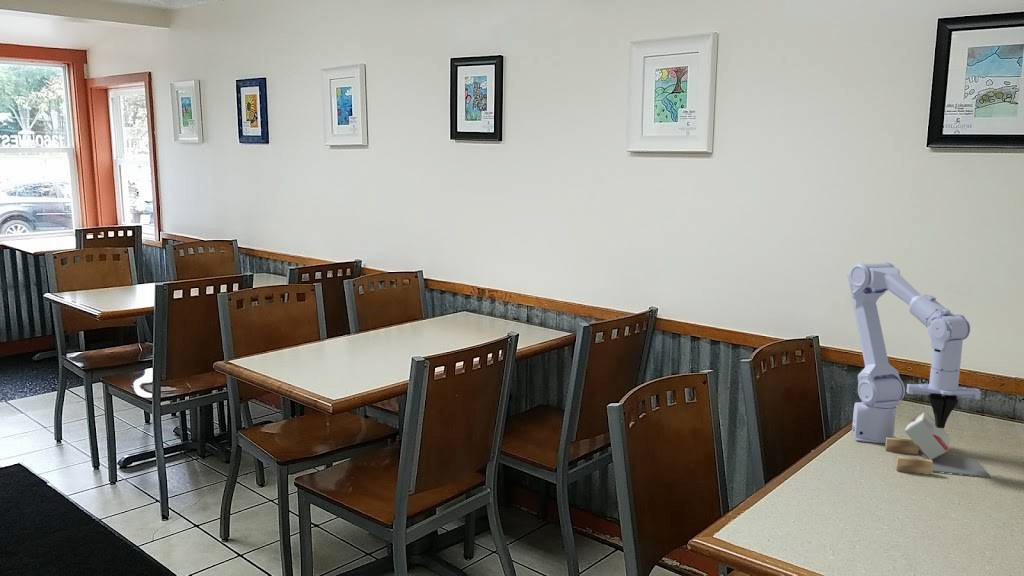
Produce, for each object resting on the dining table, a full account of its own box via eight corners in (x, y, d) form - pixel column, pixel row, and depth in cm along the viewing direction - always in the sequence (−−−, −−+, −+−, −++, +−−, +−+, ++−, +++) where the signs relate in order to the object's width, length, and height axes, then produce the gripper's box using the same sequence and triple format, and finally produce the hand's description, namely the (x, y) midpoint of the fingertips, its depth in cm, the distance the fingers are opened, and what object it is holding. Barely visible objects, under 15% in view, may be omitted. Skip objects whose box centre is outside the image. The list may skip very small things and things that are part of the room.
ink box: (929, 462, 178) (933, 449, 188) (948, 450, 176) (951, 438, 186) (903, 431, 181) (908, 420, 191) (921, 419, 178) (926, 409, 188)
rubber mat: (932, 472, 173) (932, 470, 173) (921, 455, 184) (921, 453, 184) (990, 478, 170) (990, 476, 170) (975, 460, 180) (976, 458, 180)
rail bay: (896, 471, 174) (898, 458, 173) (885, 449, 187) (886, 437, 187) (931, 474, 172) (932, 461, 171) (917, 452, 185) (918, 440, 185)
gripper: (913, 370, 173) (908, 429, 175) (987, 375, 169) (980, 435, 171) (906, 362, 179) (901, 419, 181) (977, 367, 175) (971, 425, 177)
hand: (939, 426), depth 176 cm, fingers closed
